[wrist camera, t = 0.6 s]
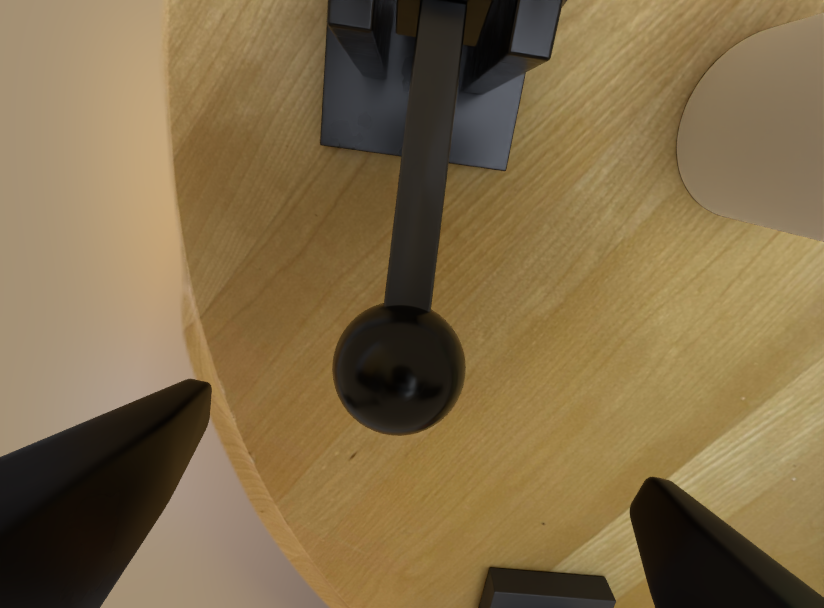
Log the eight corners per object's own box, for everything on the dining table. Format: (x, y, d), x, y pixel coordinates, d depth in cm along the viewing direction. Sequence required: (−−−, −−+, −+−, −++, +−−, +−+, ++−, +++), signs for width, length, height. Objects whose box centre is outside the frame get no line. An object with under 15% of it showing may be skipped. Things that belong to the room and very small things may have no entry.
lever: (446, 420, 12) (468, 463, 9) (333, 408, 12) (315, 448, 9) (503, -42, 12) (544, -162, 9) (389, -62, 12) (390, -192, 9)
